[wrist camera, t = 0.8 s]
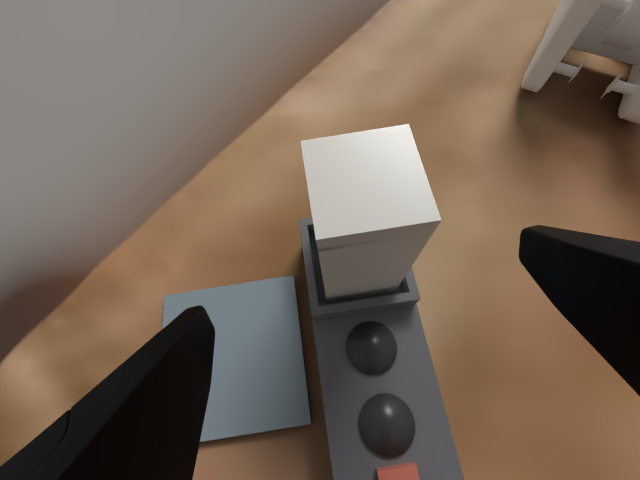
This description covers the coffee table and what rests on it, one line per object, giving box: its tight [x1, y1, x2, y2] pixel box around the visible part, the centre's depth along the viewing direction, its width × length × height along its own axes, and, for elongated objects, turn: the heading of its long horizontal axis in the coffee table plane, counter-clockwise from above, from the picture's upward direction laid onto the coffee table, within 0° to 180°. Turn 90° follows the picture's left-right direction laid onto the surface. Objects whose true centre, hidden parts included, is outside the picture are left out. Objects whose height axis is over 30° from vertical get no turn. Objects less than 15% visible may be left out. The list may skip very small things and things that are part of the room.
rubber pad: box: [162, 275, 311, 442], centre depth 21 cm, size 10×10×1 cm
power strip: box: [299, 217, 464, 480], centre depth 19 cm, size 16×7×4 cm, turn 8°
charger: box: [301, 124, 441, 302], centre depth 16 cm, size 4×4×10 cm
